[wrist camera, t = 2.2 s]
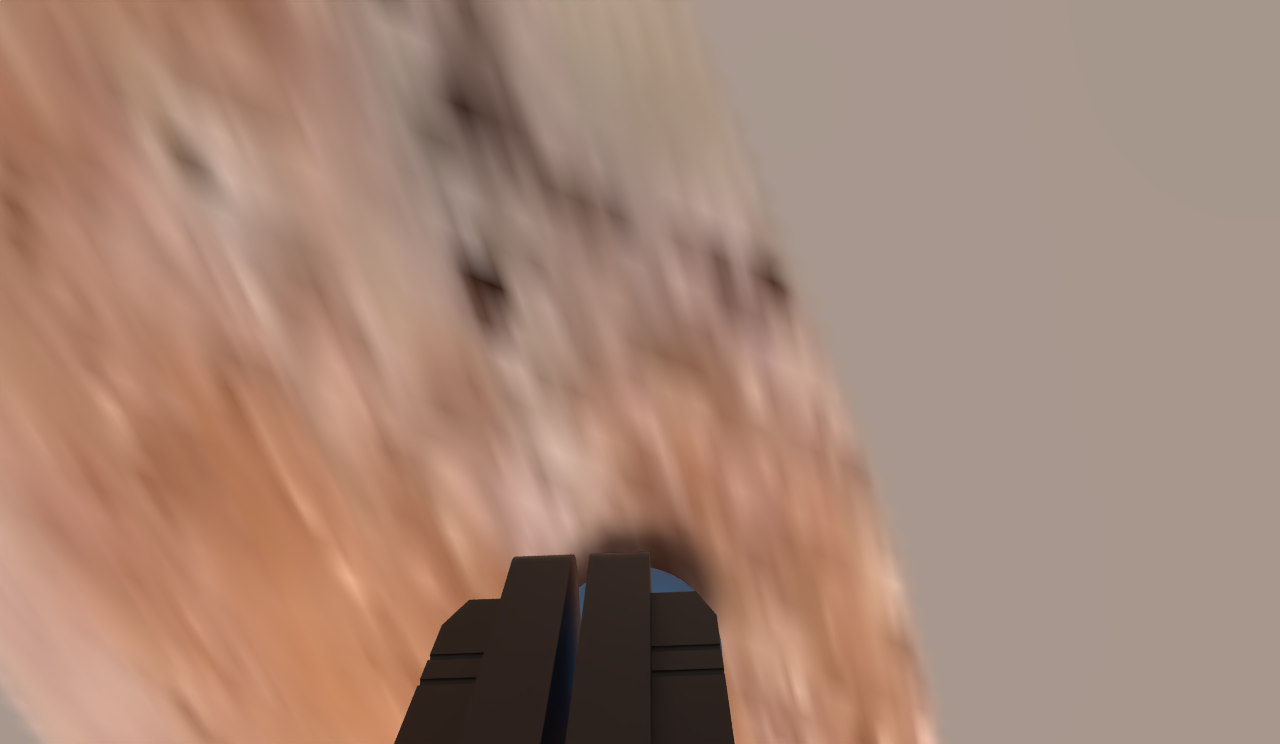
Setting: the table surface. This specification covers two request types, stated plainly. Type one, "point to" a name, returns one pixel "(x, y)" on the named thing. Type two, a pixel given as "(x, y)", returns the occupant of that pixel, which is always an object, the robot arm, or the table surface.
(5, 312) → the table surface
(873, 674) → the table surface
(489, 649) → the robot arm
